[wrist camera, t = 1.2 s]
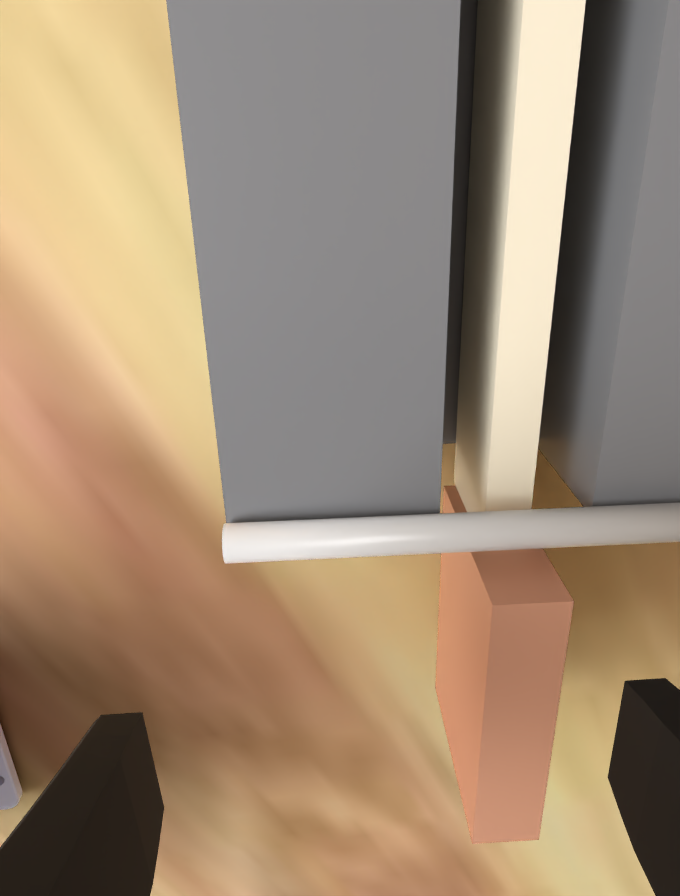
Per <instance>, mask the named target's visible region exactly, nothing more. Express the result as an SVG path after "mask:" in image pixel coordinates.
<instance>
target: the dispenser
mask: <svg viewBox="0 0 680 896" xmlns="http://www.w3.org/2000/svg"><path fill="white" fill-rule="evenodd" d="M166 2H167V10H168V19H169V28H170V37H171V45H172V54H173V63H174V71H175V80H176V89H177V98H178V106H179V115H180V124H181V132H182V141H183V150H184V158H185V167H186V176H187V185H188V193H189V202H190V211H191V219H192V228H193V237H194V245H195V254H196V263H197V272H198V280H199V289H200V298H201V306H202V315H203V324H204V332H205V341H206V350H207V359H208V367H209V376H210V385H211V393H212V402H213V411H214V419H215V428H216V437H217V446H218V454H219V463H220V472H221V480H222V489H223V498H224V506H225V515H226V523H224V525H223V531H222V551H223V559H224V562H225V564H226V563H247V562H268V561H289V560H310V559H331V558H352V557H373V556H394V555H415V554H436V553H457V552H478V551H499V550H520V549H541V548H562V547H583V546H604V545H625V544H647V543H668V542H680V0H586V3H585V13H584V22H583V32H582V41H581V50H580V60H579V69H578V78H577V88H576V97H575V106H574V116H573V125H572V134H571V144H570V153H569V162H568V172H567V181H566V190H565V200H564V209H563V218H562V228H561V237H560V246H559V256H558V265H557V274H556V284H555V293H554V302H553V312H552V321H551V331H550V340H549V349H548V359H547V368H546V377H545V387H544V396H543V405H542V415H541V424H540V433H539V443H538V449H539V450H540V451H541V452H542V454H543V455H544V456H545V458H546V459H547V460H548V461H549V463H550V464H551V465H552V467H553V468H554V469H555V470H556V472H557V473H558V474H559V476H560V477H561V478H562V479H563V481H564V482H565V483H566V485H567V486H568V487H569V488H570V490H571V491H572V492H573V494H574V495H575V496H576V497H577V499H578V500H579V501H580V503H581V504H582V505H583V506H584V507H571V508H549V509H527V510H505V511H483V512H461V513H440V494H441V470H442V445H443V444H448V443H456V428H457V408H458V388H459V368H460V348H461V328H462V308H463V288H464V268H465V248H466V227H467V207H468V187H469V167H470V147H471V127H472V107H473V87H474V67H475V47H476V27H477V7H478V0H166Z"/></svg>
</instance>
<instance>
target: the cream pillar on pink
mask: <svg viewBox="0 0 680 896" xmlns="http://www.w3.org/2000/svg"><path fill="white" fill-rule="evenodd" d="M585 3H586V0H478V7H477V27H476V47H475V67H474V87H473V107H472V127H471V147H470V167H469V187H468V207H467V227H466V248H465V268H464V288H463V308H462V328H461V348H460V368H459V388H458V408H457V428H456V448H455V468H454V484H455V486H444V499H443V513H461V512H483V511H505V510H527V509H531V508H532V499H533V489H534V480H535V471H536V461H537V452H538V443H539V433H540V424H541V415H542V405H543V396H544V387H545V377H546V368H547V359H548V349H549V340H550V331H551V321H552V312H553V302H554V293H555V284H556V274H557V265H558V256H559V246H560V237H561V228H562V218H563V209H564V200H565V190H566V181H567V172H568V162H569V153H570V144H571V134H572V125H573V116H574V106H575V97H576V88H577V78H578V69H579V60H580V50H581V41H582V32H583V22H584V13H585ZM573 605H574V601H573V599H572V597H571V595H570V594H569V592H568V590H567V589H566V587H565V585H564V584H563V582H562V580H561V579H560V577H559V575H558V574H557V572H556V570H555V568H554V567H553V565H552V563H551V562H550V560H549V558H548V557H547V555H546V553H545V552H544V550H543V548H541V549H520V550H499V551H478V552H457V553H441V568H440V591H439V615H438V638H437V661H436V684H435V688H436V692H437V696H438V701H439V705H440V709H441V713H442V718H443V722H444V726H445V730H446V735H447V739H448V743H449V747H450V751H451V756H452V760H453V764H454V768H455V773H456V777H457V781H458V785H459V790H460V794H461V798H462V802H463V806H464V811H465V815H466V819H467V823H468V828H469V832H470V836H471V840H472V844H475V843H492V842H509V841H525V840H539V835H540V828H541V821H542V814H543V808H544V801H545V794H546V787H547V781H548V774H549V767H550V760H551V754H552V747H553V740H554V733H555V726H556V720H557V713H558V706H559V699H560V693H561V686H562V679H563V672H564V666H565V659H566V652H567V645H568V638H569V632H570V625H571V618H572V611H573Z"/></svg>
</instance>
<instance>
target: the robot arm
mask: <svg viewBox="0 0 680 896" xmlns="http://www.w3.org/2000/svg"><path fill="white" fill-rule="evenodd" d="M608 779H609V782H610V785H611V788H612V791H613V794H614V796H615V799H616V802H617V805H618V808H619V811H620V814H621V817H622V819H623V822H624V825H625V827H626V830H627V833H628V835H629V838H630V841H631V843H632V846H633V849H634V851H635V853H636V855H637V858H638V860H639V862H640V864H641V866H642V868H643V870H644V872H645V874H646V876H647V879H648V881H649V883H650V885H651V887H652V889H653V891H654V893H655V895H656V896H680V690H679V689H678V688H676V687H675V686H674V685H673V684H672V683H670V682H669V681H668V680H667V679H666V678H661V679H646V680H630V681H625V683H624V689H623V694H622V700H621V706H620V711H619V717H618V723H617V728H616V734H615V740H614V745H613V751H612V756H611V762H610V768H609V773H608ZM21 796H22V788H21V785H20V782H19V779H18V776H17V773H16V770H15V767H14V764H13V761H12V758H11V755H10V752H9V749H8V746H7V742H6V739H5V736H4V733H3V730H2V727H1V724H0V810H1V809H10V808H13V807H15V806H17V804H18V803H19V801H20V799H21ZM163 811H164V805H163V801H162V796H161V792H160V788H159V783H158V779H157V774H156V770H155V766H154V761H153V757H152V753H151V748H150V744H149V740H148V735H147V731H146V727H145V722H144V718H143V713H142V712H140V713H125V714H110V715H101V716H100V717H99V718H98V719H97V720H96V721H95V722H94V723H93V725H92V726H91V727H90V729H89V730H88V731H87V733H86V734H85V736H84V737H83V738H82V740H81V741H80V742H79V744H78V745H77V747H76V748H75V749H74V751H73V752H72V753H71V755H70V756H69V758H68V759H67V760H66V762H65V763H64V764H63V766H62V767H61V768H60V770H59V771H58V773H57V774H56V775H55V777H54V778H53V779H52V781H51V782H50V783H49V785H48V786H47V787H46V789H45V790H44V791H43V793H42V794H41V795H40V797H39V798H38V799H37V801H36V802H35V803H34V805H33V806H32V807H31V809H30V810H29V811H28V812H27V814H26V815H25V816H24V818H23V819H22V820H21V821H20V823H19V824H18V825H17V827H16V828H15V829H14V830H13V832H12V833H11V834H10V835H9V837H8V838H7V839H6V841H5V842H4V843H3V844H2V846H1V847H0V896H150V893H151V889H152V885H153V879H154V873H155V866H156V860H157V854H158V847H159V840H160V833H161V826H162V819H163Z"/></svg>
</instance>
